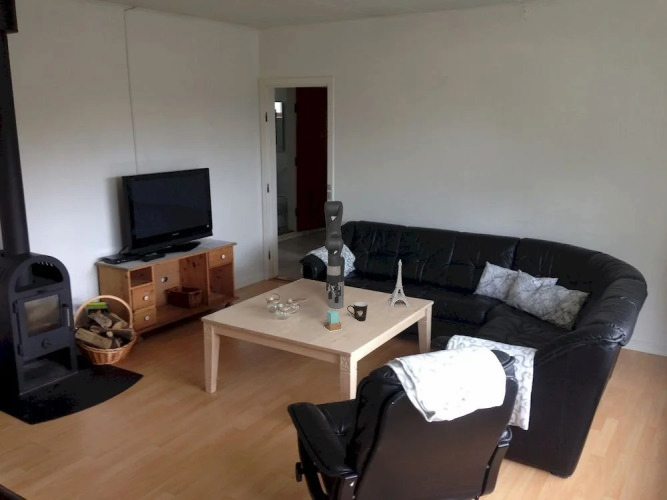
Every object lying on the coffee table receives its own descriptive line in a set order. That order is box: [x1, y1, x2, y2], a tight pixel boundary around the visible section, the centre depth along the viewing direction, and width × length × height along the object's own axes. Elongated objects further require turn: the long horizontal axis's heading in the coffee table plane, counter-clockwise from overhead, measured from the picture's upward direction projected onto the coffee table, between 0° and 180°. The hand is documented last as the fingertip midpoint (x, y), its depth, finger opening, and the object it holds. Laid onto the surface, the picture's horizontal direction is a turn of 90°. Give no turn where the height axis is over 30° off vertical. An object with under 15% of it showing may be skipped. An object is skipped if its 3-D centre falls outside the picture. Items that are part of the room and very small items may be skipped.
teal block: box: [326, 309, 340, 324], centre depth 343 cm, size 5×5×6 cm
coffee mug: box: [347, 301, 369, 322], centre depth 364 cm, size 12×9×10 cm
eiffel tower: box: [386, 259, 411, 308], centre depth 394 cm, size 13×13×30 cm
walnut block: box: [324, 320, 342, 332], centre depth 344 cm, size 7×7×4 cm
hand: (333, 301), depth 341 cm, fingers open, 7 cm apart
